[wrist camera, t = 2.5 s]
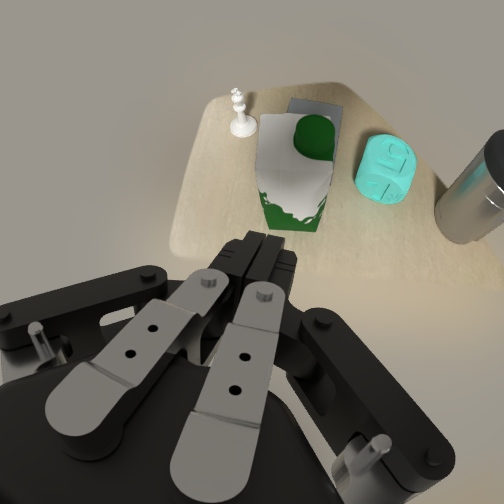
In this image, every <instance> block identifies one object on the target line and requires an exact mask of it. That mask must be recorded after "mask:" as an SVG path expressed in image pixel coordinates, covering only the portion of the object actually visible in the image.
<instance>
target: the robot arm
mask: <svg viewBox="0 0 504 504" xmlns="http://www.w3.org/2000/svg"><path fill="white" fill-rule="evenodd" d="M435 219H436V223H437V225H438V227H439V229H440V231H441V232H442V233H443V235H444V236H445V237H446V238H448V239H449V240H450V241H452V242H454V243H457V244H466V243H469V242H470V241H472V240H475V241H478V240H479V239H481V238H482V237H484V236H485V235H487V234H488V233H490V232H491V231H493V230H494V229H495V228H497V227H498V226H500V225H501V224H502V223H504V130H499V131H497V132H495V133H494V134H493V135H492V136H491V137H490V139H489V140H488V141H487V142H486V144H485V145H484V146H483V148H482V149H481V150H480V152H479V153H478V154H477V155H476V157H475V158H474V159H473V160H472V162H471V163H470V164H469V165H468V166H467V167H466V169H465V170H464V171H463V172H462V174H461V175H460V176H459V177H458V178H457V179H456V180H455V182H454V183H453V184H452V185H451V186H450V187H449V188H448V190H447V191H446V192H445V193H444V194H443V195H442V196H441V198H440V199H439V200H438V202H437V204H436V206H435ZM284 243H285V238H283V237H278V236H273V235H269V234H268V235H267V237H266V234H264V233H259V232H254V231H250V230H249V231H248V233H247V234H246V236H245V237H244V239H243V240H239V239H233V240H231V241H229V242H227V243H226V244H225V246H224V247H223V248H222V250H221V251H220V252H219V254H218V255H217V256H216V258H215V259H214V260H213V262H212V263H211V264H210V266H209V267H208V268H207V269H200V270H197V271H195V272H193V273H192V274H191V275H190V276H189V277H188V278H187V279H186V280H185V281H179V280H168V279H167V272H166V271H165V270H164V269H162V268H161V267H158V266H152V265H147V266H141V267H137V268H134V269H130V270H126V271H123V272H119V273H115V274H111V275H108V276H104V277H100V278H97V279H93V280H90V281H86V282H82V283H79V284H75V285H71V286H68V287H64V288H60V289H57V290H53V291H50V292H46V293H43V294H39V295H35V296H32V297H28V298H25V299H21V300H18V301H14V302H11V303H7V304H4V305H1V306H0V351H1V365H2V376H3V385H1V386H0V504H404V503H406V502H408V501H410V500H411V499H413V498H415V497H416V496H418V495H419V494H421V493H422V492H424V491H426V490H427V489H429V488H430V487H432V486H433V485H435V484H436V483H438V482H439V481H441V480H442V479H444V478H445V477H447V476H448V475H449V474H450V473H451V471H452V470H453V468H454V465H455V452H454V449H453V447H452V446H451V444H450V443H449V442H448V440H447V439H446V438H445V437H444V436H443V434H442V433H441V432H440V431H439V430H438V428H437V427H436V426H435V425H434V424H433V423H432V421H431V420H430V419H429V418H428V417H427V416H426V414H425V413H424V412H423V411H422V410H421V409H420V407H419V406H418V405H417V404H416V403H415V402H414V401H413V399H412V398H411V397H410V396H409V395H408V393H407V392H406V391H405V390H404V389H403V388H402V386H401V385H400V384H399V383H398V382H397V381H396V380H395V378H394V377H393V376H392V375H391V374H390V373H389V372H388V370H387V369H386V368H385V367H384V366H383V365H382V363H381V362H380V361H379V360H378V359H377V358H376V357H375V355H374V354H373V353H372V352H371V351H370V350H369V349H368V348H367V346H366V345H365V344H364V343H363V342H362V341H361V340H360V338H359V337H358V336H357V335H356V334H355V333H354V332H353V331H352V330H351V328H350V327H349V326H348V325H347V324H346V323H345V322H344V321H343V319H342V318H341V317H340V316H339V315H338V314H336V313H335V312H333V311H331V310H329V309H325V308H311V309H308V310H306V311H305V312H302V311H300V310H298V309H297V308H295V307H294V306H293V305H292V304H291V303H290V302H289V300H288V298H289V294H290V291H291V287H292V283H293V278H294V273H295V268H296V264H297V257H296V254H295V252H293V251H289V250H284ZM131 306H133V307H134V313H135V317H132V318H129V319H125V320H122V321H119V322H116V323H112V324H109V325H106V326H100V324H99V322H100V319H101V318H102V317H103V316H104V315H105V314H108V313H111V312H114V311H118V310H121V309H124V308H128V307H131ZM215 354H216V355H215ZM214 356H215V357H214ZM213 357H214V360H213V363H212V366H211V367H208V365H209V364H210V362H211V360H212V359H213ZM273 364H274V365H276V366H277V367H279V368H281V369H283V370H285V371H286V377H287V380H288V382H289V383H290V385H291V387H292V388H293V390H294V391H295V393H296V395H297V396H298V397H299V399H300V401H301V402H302V404H303V406H304V407H305V409H306V410H307V412H308V413H309V415H310V416H311V418H312V420H313V421H314V423H315V424H316V426H317V427H318V429H319V430H320V432H321V433H322V435H323V437H324V438H325V440H326V441H327V442H328V444H329V446H330V447H331V449H332V450H333V452H334V453H335V455H336V456H337V458H336V459H335V460H334V462H333V464H332V469H331V471H332V477H333V479H334V481H335V484H336V488H335V486H334V485H333V483H332V481H331V480H330V478H329V476H328V475H327V473H326V471H325V470H324V468H323V466H322V465H321V463H320V461H319V459H318V458H317V456H316V454H315V452H314V451H313V449H312V447H311V446H310V444H309V442H308V440H307V439H306V437H305V435H304V433H303V431H302V430H301V428H300V426H299V425H298V423H297V421H296V419H295V417H294V415H293V414H292V412H291V411H290V409H289V408H288V407H287V405H286V404H285V403H284V402H283V401H282V400H281V399H280V398H278V397H277V396H276V395H275V394H273V393H272V392H270V391H269V390H268V387H269V382H270V377H271V372H272V367H273Z"/></svg>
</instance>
